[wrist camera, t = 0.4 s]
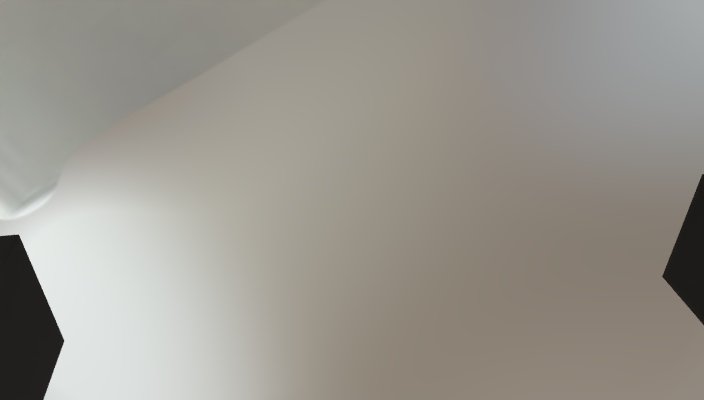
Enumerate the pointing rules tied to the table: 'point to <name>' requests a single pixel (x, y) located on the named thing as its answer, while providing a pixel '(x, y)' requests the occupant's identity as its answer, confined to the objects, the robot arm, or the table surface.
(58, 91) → the table surface
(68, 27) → the table surface
